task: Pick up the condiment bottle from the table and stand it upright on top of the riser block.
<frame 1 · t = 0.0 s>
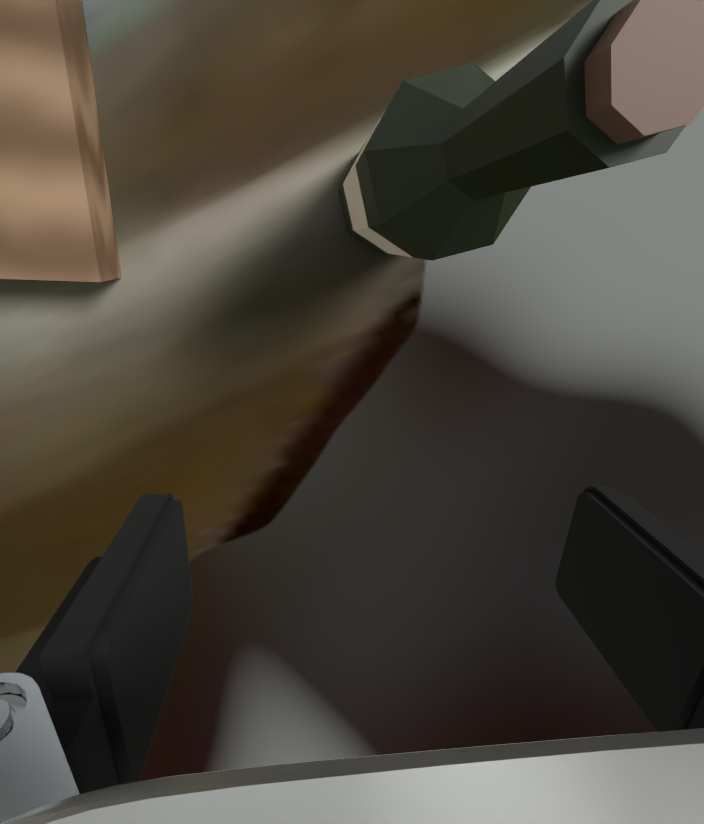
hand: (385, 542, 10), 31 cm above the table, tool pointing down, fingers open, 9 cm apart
wine bottle: (388, 199, 36), on the table
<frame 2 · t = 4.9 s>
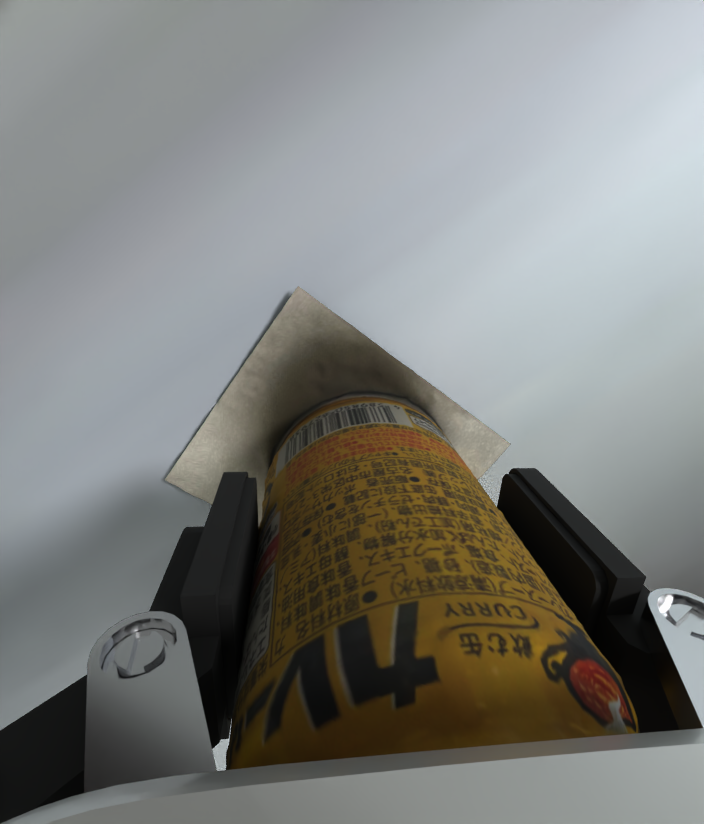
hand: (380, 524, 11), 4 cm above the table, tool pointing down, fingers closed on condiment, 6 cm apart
condiment: (341, 455, 14), on the table, touching gripper
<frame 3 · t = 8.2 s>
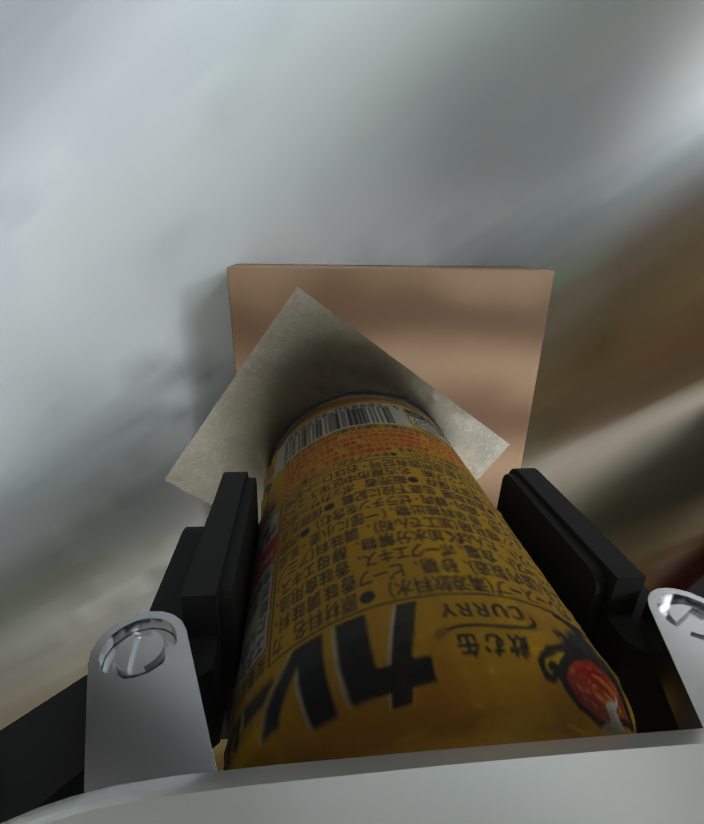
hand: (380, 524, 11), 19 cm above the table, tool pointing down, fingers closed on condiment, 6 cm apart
condiment: (340, 455, 14), point 16 cm above the table, touching gripper
riser: (379, 400, 30), on the table
when the fingers open (9 cm above the table, at t = 11.1 s): condiment drops 1 cm, resting on riser.
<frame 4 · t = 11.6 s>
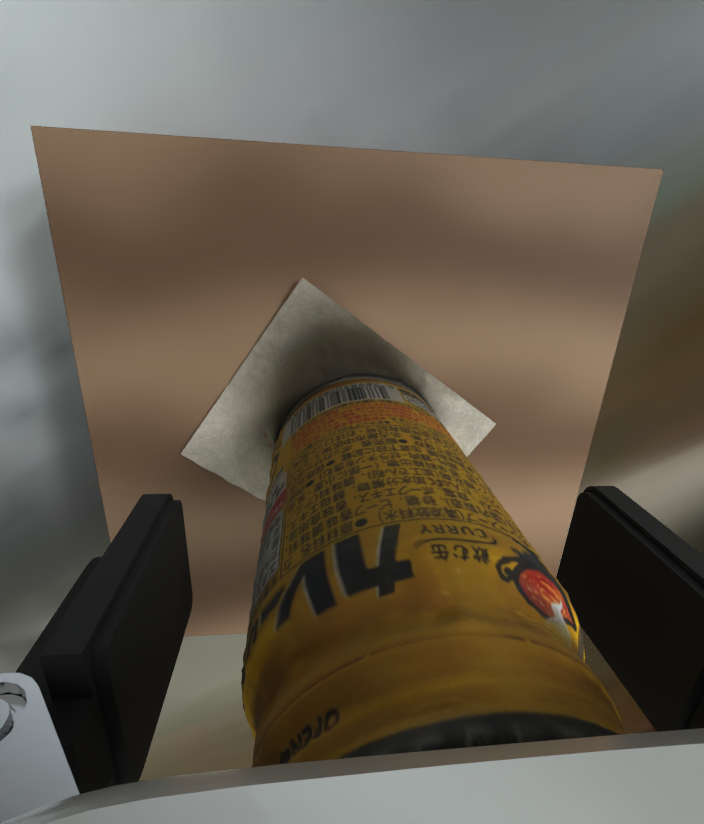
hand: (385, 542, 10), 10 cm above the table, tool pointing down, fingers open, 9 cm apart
condiment: (341, 433, 16), point 4 cm above the table, touching riser
riser: (347, 400, 19), on the table
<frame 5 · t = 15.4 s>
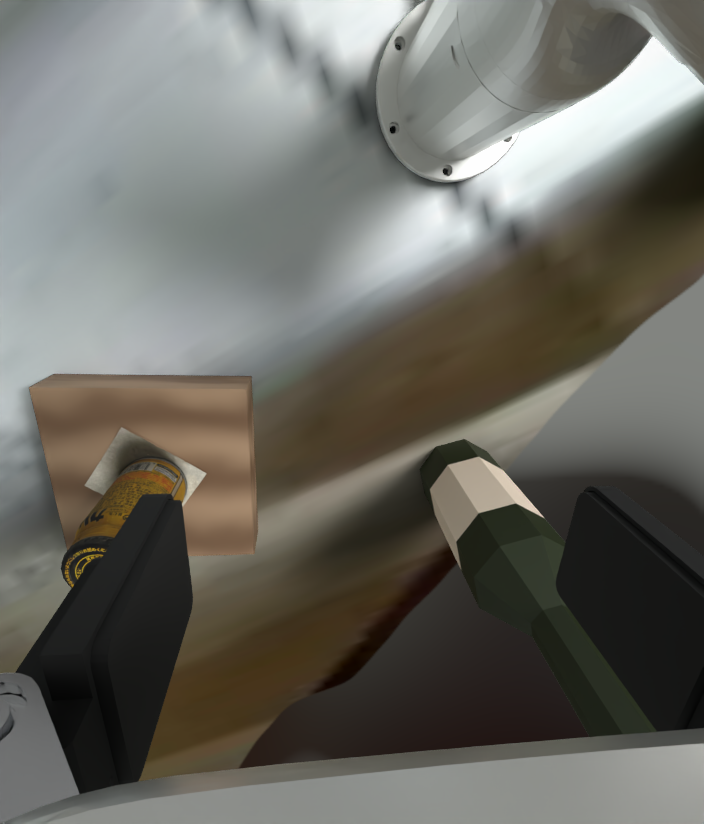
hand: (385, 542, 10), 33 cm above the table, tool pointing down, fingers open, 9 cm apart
wine bottle: (455, 471, 49), on the table
condiment: (147, 477, 41), point 4 cm above the table, touching riser
riser: (165, 459, 45), on the table
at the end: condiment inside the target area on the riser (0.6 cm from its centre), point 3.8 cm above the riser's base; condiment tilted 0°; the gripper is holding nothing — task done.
